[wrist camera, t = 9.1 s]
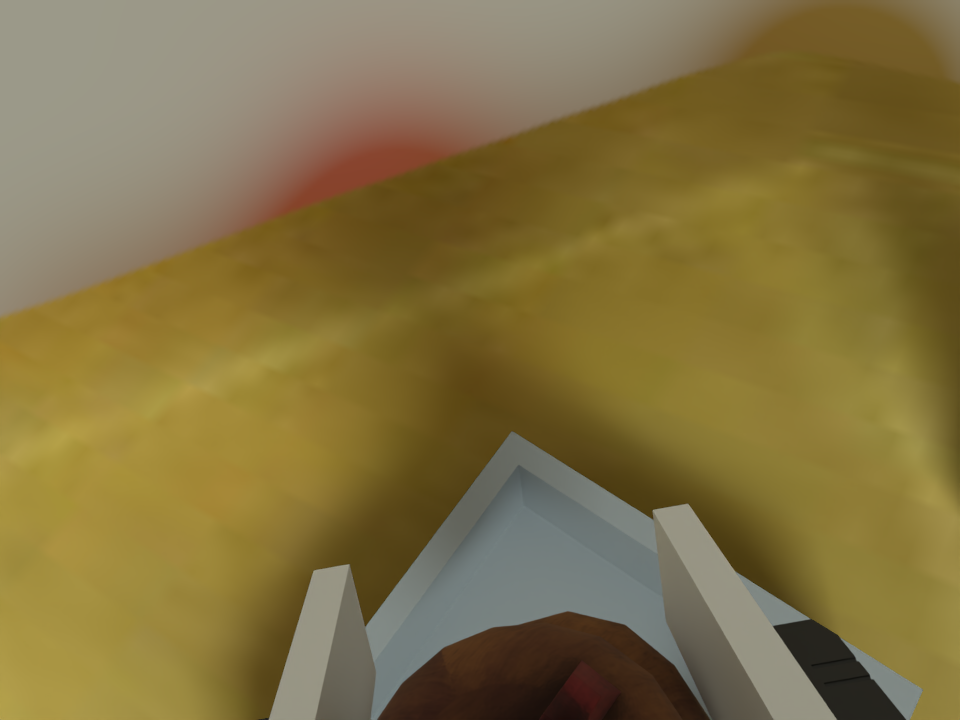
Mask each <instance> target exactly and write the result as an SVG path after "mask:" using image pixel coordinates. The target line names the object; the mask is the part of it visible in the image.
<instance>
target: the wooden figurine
mask: <svg viewBox="0 0 960 720" xmlns="http://www.w3.org/2000/svg"><path fill="white" fill-rule="evenodd" d="M377 720H710V718H709V717H708V715H707V714H706V712H705V711H704V709H703V708H702V706H701V705H700V703H699V702H698V700H697V699H696V697H695V696H694V694H693V693H692V691H691V690H690V688H689V686H688V685H687V683H686V682H685V680H684V679H683V677H682V676H681V674H680V673H679V671H678V670H677V668H676V667H675V665H674V664H672V663H671V662H670V661H669V660H668V659H666V658H665V657H664V656H663V655H661V654H660V653H659V652H658V651H657V650H655V649H654V648H653V647H652V646H651V645H649V644H648V643H647V642H646V641H645V640H643V639H642V638H641V637H640V636H638V635H637V634H636V633H635V632H634V631H632V630H631V629H630V628H629V627H628V626H626V625H624V624H620V623H616V622H612V621H608V620H603V619H599V618H595V617H591V616H587V615H582V614H578V613H574V612H570V611H566V612H562V613H559V614H555V615H552V616H548V617H544V618H541V619H537V620H534V621H530V622H526V623H523V624H519V625H512V626H501V627H492V628H490V629H487V630H485V631H483V632H480V633H478V634H475V635H473V636H470V637H468V638H465V639H463V640H460V641H458V642H456V643H453V644H451V645H448V646H446V647H444V648H443V649H441V650H440V651H439V652H438V653H437V654H436V655H434V656H433V657H432V658H431V659H430V660H428V661H427V662H426V663H425V664H424V665H423V666H421V667H420V668H419V669H418V670H417V671H416V672H414V673H413V674H412V675H411V676H410V677H409V678H407V679H406V680H405V681H404V682H403V683H402V684H401V685H400V687H399V688H398V690H397V691H396V693H395V694H394V696H393V697H392V698H391V700H390V701H389V703H388V704H387V706H386V707H385V709H384V710H383V711H382V713H381V714H380V716H379V717H378V719H377Z"/></svg>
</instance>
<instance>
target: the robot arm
mask: <svg viewBox="0 0 960 720" xmlns="http://www.w3.org/2000/svg"><path fill="white" fill-rule="evenodd" d="M653 518H654V526H655V535H656V543H657V552H658V560H659V568H660V577H661V585H662V593H663V602H664V610H665V619H666V623H667V625H668V627H669V629H670V631H671V633H672V635H673V637H674V640H675V642H676V644H677V646H678V648H679V650H680V652H681V654H682V657H683V659H684V661H685V663H686V665H687V667H688V669H689V671H690V674H691V676H692V678H693V680H694V682H695V684H696V686H697V688H698V691H699V693H700V695H701V697H702V699H703V701H704V703H705V705H706V708H707V710H708V712H709V714H710V716H711V718H712V720H906V719H905V717H904V716H903V715H902V714H901V712H900V711H899V710H898V709H897V708H896V706H895V705H894V704H893V703H892V701H891V700H890V699H889V698H888V696H887V695H886V694H885V693H884V691H883V690H882V689H881V688H880V687H879V685H878V684H877V683H876V682H875V680H874V679H871V677H870V674H869V673H868V672H867V670H866V669H865V668H864V667H863V666H862V664H861V663H860V662H859V661H857V660H856V657H855V656H854V654H853V653H852V652H851V651H850V649H849V648H848V647H847V646H846V645H845V643H844V642H843V641H842V640H841V638H840V637H839V636H838V635H837V634H835V633H833V632H832V631H830V630H828V629H827V628H825V627H824V626H822V625H820V624H819V623H817V622H815V621H814V620H812V619H808V620H803V621H797V622H791V623H786V624H780V625H775V626H772V625H771V623H770V622H769V620H768V619H767V617H766V616H765V615H764V613H763V612H762V610H761V609H760V607H759V606H758V604H757V603H756V601H755V600H754V599H753V597H752V596H751V594H750V593H749V591H748V590H747V588H746V587H745V585H744V584H743V583H742V581H741V580H740V578H739V577H738V575H737V574H736V572H735V571H734V569H733V568H732V567H731V565H730V564H729V562H728V561H727V559H726V558H725V556H724V555H723V554H722V552H721V551H720V549H719V548H718V546H717V545H716V543H715V542H714V540H713V539H712V538H711V536H710V535H709V533H708V532H707V530H706V529H705V527H704V526H703V524H702V523H701V522H700V520H699V519H698V517H697V516H696V514H695V513H694V511H693V510H692V508H691V507H690V506H689V504H683V505H678V506H672V507H667V508H661V509H655V510H653ZM375 680H376V669H375V665H374V661H373V657H372V653H371V649H370V645H369V641H368V637H367V633H366V629H365V625H364V621H363V617H362V613H361V609H360V605H359V601H358V597H357V592H356V588H355V584H354V580H353V576H352V572H351V568H350V564H347V565H342V566H336V567H330V568H325V569H319V570H314V572H313V575H312V578H311V581H310V585H309V588H308V591H307V595H306V598H305V601H304V605H303V608H302V611H301V615H300V618H299V621H298V625H297V628H296V631H295V634H294V638H293V641H292V644H291V648H290V651H289V654H288V658H287V661H286V664H285V668H284V671H283V674H282V678H281V681H280V684H279V687H278V691H277V694H276V697H275V701H274V704H273V707H272V711H271V714H270V717H269V718H265V719H259V720H371V712H372V704H373V696H374V688H375Z"/></svg>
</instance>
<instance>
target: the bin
mask: <svg viewBox="0 0 960 720" xmlns="http://www.w3.org/2000/svg"><path fill="white" fill-rule="evenodd" d="M736 574H737V575H738V577H739V578H740V580H741V581H742V583H743V584H744V585H745V587H746V588H747V590H748V591H749V593H750V594H751V596H752V597H753V599H754V600H755V601H756V603H757V604H758V606H759V607H760V609H761V610H762V612H763V613H764V615H765V616H766V617H767V619H768V620H769V622H770V623H771V625H772V626H775V625H780V624H786V623H791V622H797V621H803V620H808V619H810V618H808V617H807V616H805V615H803V614H802V613H800V612H799V611H797V610H795V609H794V608H792V607H791V606H789V605H788V604H786V603H784V602H783V601H781V600H780V599H778V598H776V597H775V596H773V595H772V594H770V593H768V592H767V591H765V590H764V589H762V588H761V587H759V586H757V585H756V584H754V583H753V582H751V581H749V580H748V579H746V578H745V577H743V576H742V575H740V574H738V573H737V572H736ZM566 611H570V612H574V613H578V614H582V615H587V616H591V617H595V618H599V619H603V620H608V621H612V622H616V623H620V624H624V625H626V626H628V627H629V628H630V629H631V630H632V631H634V632H635V633H636V634H637V635H638V636H640V637H641V638H642V639H643V640H645V641H646V642H647V643H648V644H649V645H651V646H652V647H653V648H654V649H655V650H657V651H658V652H659V653H660V654H661V655H663V656H664V657H665V658H666V659H668V660H669V661H670V662H671V663H672V664H674V665H675V667H676V668H677V670H678V671H679V673H680V674H681V676H682V677H683V679H684V680H685V682H686V683H687V685H688V686H689V688H690V690H691V691H692V693H693V694H694V696H695V697H696V699H697V700H698V702H699V703H700V705H701V706H702V708H703V709H704V711H705V712H706V714H707V715H708V717H709V718H710V720H712V718H711V716H710V714H709V712H708V710H707V708H706V705H705V703H704V701H703V699H702V697H701V695H700V693H699V691H698V688H697V686H696V684H695V682H694V680H693V678H692V676H691V674H690V671H689V669H688V667H687V665H686V663H685V661H684V659H683V657H682V654H681V652H680V650H679V648H678V646H677V644H676V642H675V640H674V637H673V635H672V633H671V631H670V629H669V627H668V625H667V623H666V619H665V610H664V602H663V593H662V585H661V577H660V568H659V560H658V552H657V543H656V535H655V526H654V520H653V519H651V518H649V517H648V516H646V515H645V514H643V513H641V512H640V511H638V510H637V509H635V508H634V507H632V506H630V505H629V504H627V503H626V502H624V501H622V500H621V499H619V498H618V497H616V496H614V495H613V494H611V493H610V492H608V491H607V490H605V489H603V488H602V487H600V486H599V485H597V484H595V483H594V482H592V481H591V480H589V479H587V478H586V477H584V476H583V475H581V474H580V473H578V472H576V471H575V470H573V469H572V468H570V467H568V466H567V465H565V464H564V463H562V462H560V461H559V460H557V459H556V458H554V457H553V456H551V455H549V454H548V453H546V452H545V451H543V450H541V449H540V448H538V447H537V446H535V445H533V444H532V443H530V442H529V441H527V440H526V439H524V438H522V437H521V436H519V435H518V434H516V433H514V432H513V431H512V432H511V433H510V434H509V436H508V437H507V438H506V440H505V441H504V442H503V444H502V445H501V446H500V448H499V449H498V450H497V452H496V453H495V454H494V456H493V457H492V458H491V460H490V461H489V462H488V464H487V465H486V466H485V468H484V469H483V471H482V472H481V473H480V475H479V476H478V477H477V479H476V480H475V481H474V483H473V484H472V485H471V487H470V488H469V489H468V491H467V492H466V493H465V495H464V496H463V497H462V499H461V500H460V501H459V503H458V504H457V505H456V507H455V508H454V509H453V511H452V512H451V513H450V515H449V516H448V517H447V519H446V520H445V521H444V523H443V524H442V525H441V527H440V528H439V529H438V531H437V532H436V533H435V535H434V536H433V537H432V539H431V540H430V541H429V543H428V544H427V545H426V547H425V548H424V549H423V551H422V552H421V553H420V555H419V556H418V557H417V559H416V560H415V561H414V563H413V564H412V565H411V567H410V568H409V569H408V571H407V572H406V573H405V575H404V576H403V577H402V579H401V580H400V581H399V583H398V584H397V585H396V587H395V588H394V589H393V591H392V592H391V593H390V595H389V596H388V597H387V599H386V600H385V601H384V603H383V604H382V605H381V607H380V608H379V609H378V611H377V612H376V613H375V615H374V616H373V617H372V619H371V620H370V621H369V623H368V624H367V625H366V627H365V629H366V633H367V637H368V641H369V645H370V649H371V653H372V657H373V661H374V665H375V669H376V680H375V688H374V696H373V704H372V712H371V720H377V719H378V717H379V716H380V714H381V713H382V711H383V710H384V709H385V707H386V706H387V704H388V703H389V701H390V700H391V698H392V697H393V696H394V694H395V693H396V691H397V690H398V688H399V687H400V685H401V684H402V683H403V682H404V681H405V680H406V679H407V678H409V677H410V676H411V675H412V674H413V673H414V672H416V671H417V670H418V669H419V668H420V667H421V666H423V665H424V664H425V663H426V662H427V661H428V660H430V659H431V658H432V657H433V656H434V655H436V654H437V653H438V652H439V651H440V650H441V649H443V648H444V647H446V646H448V645H451V644H453V643H456V642H458V641H460V640H463V639H465V638H468V637H470V636H473V635H475V634H478V633H480V632H483V631H485V630H487V629H490V628H492V627H501V626H512V625H519V624H523V623H526V622H530V621H534V620H537V619H541V618H544V617H548V616H552V615H555V614H559V613H562V612H566ZM841 640H842V641H843V642H844V643H845V645H846V646H847V647H848V648H849V649H850V651H851V652H852V653H853V654H854V656H855V657H856V660H857V661H859V662H860V663H861V664H862V666H863V667H864V668H865V669H866V670H867V672H868V673H869V674H870V677H871V679H874V680H875V682H876V683H877V684H878V685H879V687H880V688H881V689H882V690H883V691H884V693H885V694H886V695H887V696H888V698H889V699H890V700H891V701H892V703H893V704H894V705H895V706H896V708H897V709H898V710H899V711H900V712H901V714H902V715H903V716H904V717H905V719H906V720H910V718H911V716H912V714H913V711H914V709H915V707H916V705H917V702H918V700H919V698H920V695H921V693H922V691H923V689H921V688H919V687H918V686H916V685H915V684H913V683H911V682H910V681H908V680H907V679H905V678H903V677H902V676H900V675H899V674H897V673H896V672H894V671H892V670H891V669H889V668H888V667H886V666H884V665H883V664H881V663H880V662H878V661H876V660H875V659H873V658H872V657H870V656H869V655H867V654H865V653H864V652H862V651H861V650H859V649H857V648H856V647H854V646H853V645H851V644H849V643H848V642H846V641H845V640H843V639H842V638H841Z"/></svg>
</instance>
